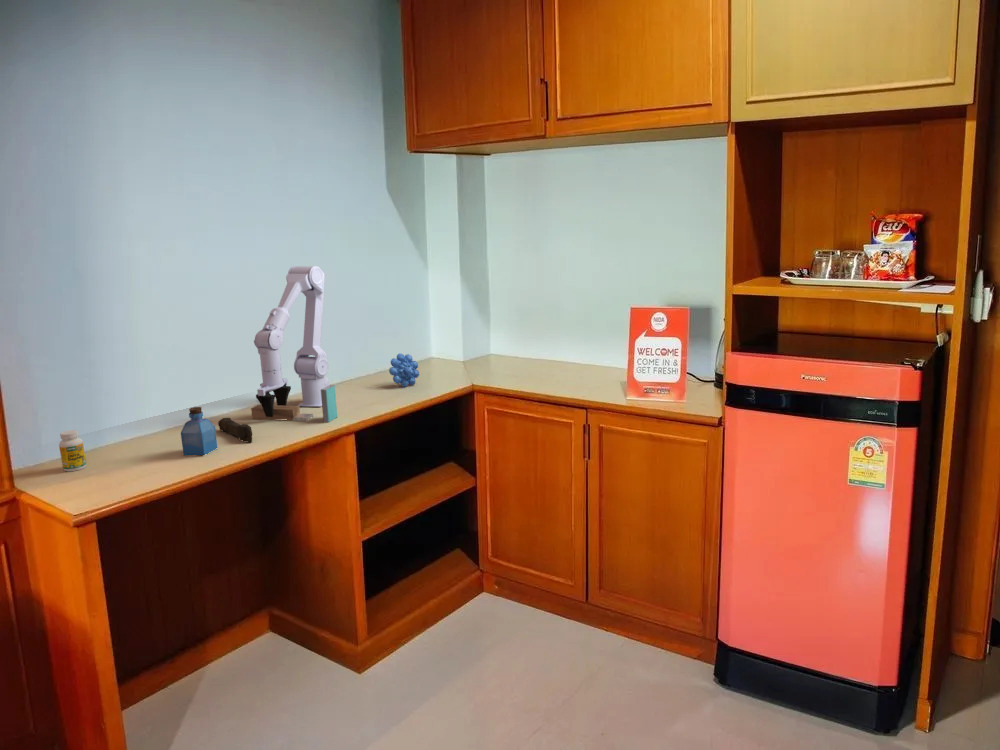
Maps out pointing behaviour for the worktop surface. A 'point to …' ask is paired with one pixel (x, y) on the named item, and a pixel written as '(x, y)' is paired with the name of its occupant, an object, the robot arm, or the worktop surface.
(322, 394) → the tile
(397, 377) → the grapes
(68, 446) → the supplement bottle
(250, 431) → the hand tool
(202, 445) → the perfume bottle
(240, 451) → the worktop surface
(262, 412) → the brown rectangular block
